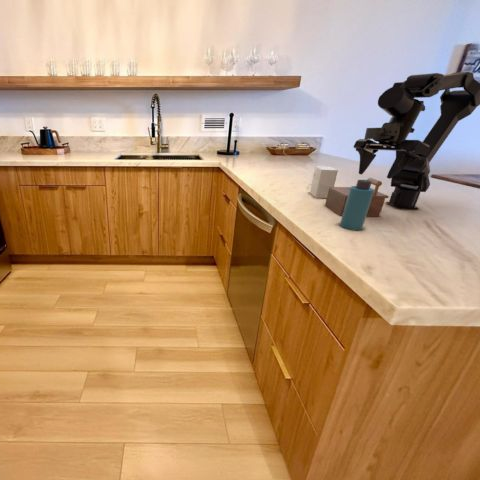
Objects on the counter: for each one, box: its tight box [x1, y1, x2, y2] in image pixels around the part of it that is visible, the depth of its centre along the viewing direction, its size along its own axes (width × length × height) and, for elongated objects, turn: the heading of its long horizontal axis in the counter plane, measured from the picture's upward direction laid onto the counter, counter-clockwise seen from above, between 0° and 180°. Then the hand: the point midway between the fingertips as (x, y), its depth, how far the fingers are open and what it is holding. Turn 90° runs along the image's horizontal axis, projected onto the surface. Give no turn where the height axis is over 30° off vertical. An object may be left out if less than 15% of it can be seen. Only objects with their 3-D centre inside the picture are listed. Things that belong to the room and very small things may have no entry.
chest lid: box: [329, 177, 389, 199], centre depth 90 cm, size 12×11×4 cm
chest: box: [324, 189, 386, 218], centre depth 92 cm, size 12×11×6 cm
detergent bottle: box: [339, 179, 375, 231], centre depth 78 cm, size 5×5×13 cm
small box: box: [309, 165, 339, 199], centre depth 108 cm, size 8×6×10 cm
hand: (373, 176), depth 85 cm, fingers open, 9 cm apart
